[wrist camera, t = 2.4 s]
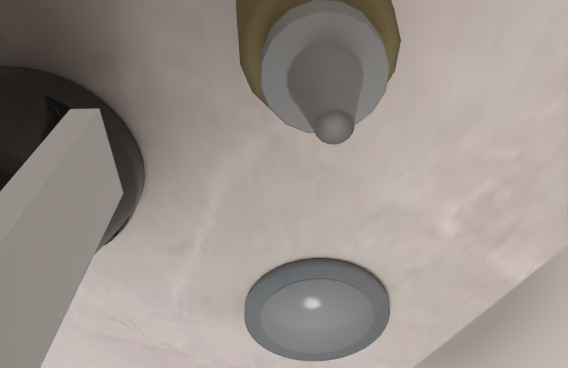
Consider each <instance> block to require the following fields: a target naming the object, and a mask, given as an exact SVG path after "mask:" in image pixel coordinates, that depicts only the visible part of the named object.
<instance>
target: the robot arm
mask: <svg viewBox="0 0 568 368" xmlns="http://www.w3.org/2000/svg"><path fill="white" fill-rule="evenodd" d="M143 185H144V167H143V162H142V158H141V154H140V151H139V149H138V146H137V144H136V142H135V140H134V138H133V137H132V135H131V133H130V132H129V130H128V129H127V127H126V126H125V125H124V123H123V122H122V121H121V120H120V118H119V117H118V116H117V115H116V114H115V113H114V112H113V111H112V110H111V109H110V108H109V107H108V106H107V105H106V104H104V103H103V102H102V101H101V100H100V99H98V98H97V97H96V96H94V95H93V94H91V93H90V92H88V91H87V90H85V89H83V88H82V87H80V86H78V85H76V84H74V83H72V82H70V81H68V80H66V79H63V78H61V77H58V76H55V75H53V74H50V73H46V72H42V71H38V70H33V69H27V68H17V67H2V68H0V368H40V367H41V365H42V362H43V360H44V358H45V356H46V354H47V352H48V350H49V348H50V346H51V344H52V342H53V339H54V337H55V335H56V333H57V331H58V329H59V327H60V325H61V323H62V321H63V319H64V316H65V314H66V312H67V310H68V308H69V306H70V304H71V302H72V300H73V298H74V296H75V293H76V291H77V289H78V287H79V285H80V283H81V281H82V279H83V277H84V275H85V273H86V270H87V268H88V266H89V264H90V262H91V260H92V258H93V256H94V254H95V253H96V252H97V251H98V250H99V249H100V248H101V247H102V246H104V245H106V244H107V243H109V242H110V241H112V240H113V239H114V238H115V237H116V236H117V235H118V234H120V233H121V231H122V230H123V229H124V228H125V227H126V225H127V224H128V223H129V221H130V219H131V218H132V216H133V214H134V211H135V209H136V207H137V204H138V202H139V199H140V197H141V194H142V190H143Z"/></svg>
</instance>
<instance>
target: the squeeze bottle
mask: <svg viewBox="0 0 568 368" xmlns="http://www.w3.org/2000/svg"><path fill="white" fill-rule="evenodd" d="M236 13H237V27H238V40H239V53H240V65H241V67H242V69H243V72H244V74H245V76H246V79H247V81H248V83H249V86H250V88H251V90H252V92H253V93H254V94H255V95H256V96H257V97H258V98H259V99H260V100H261V101H262V102H263V103H264V104H265V105H266V106H267V107H269V108H270V109H271V110H272V111H273V112H274V113H275V114H276V115H277V116H278V117H279V118H280V119H281V120H282V121H283V122H284V123H285V124H287V125H289V126H292V127H294V128H297V129H299V130H301V131H304V132H306V133H315V134H316V136H317V137H318V138H319V139H320V140H321V141H322V142H325V143H327V144H339V143H342V142H344V141H346V140H347V139H348V138H350V136H351V134H352V133H353V131H354V125H356V124H357V123H358V122H360V121H361V120H362V119H364V118H365V117H366V116H368V115H369V114H370V113H372V112H373V110H374V109H375V107H376V106H377V104H378V102H379V101H380V99H381V98H382V96H383V95H384V93H385V91H386V86H387V82H388V81H389V79H390V78H391V76H392V75H393V73H394V71H395V68H396V62H397V57H398V52H399V47H400V42H401V39H400V34H399V30H398V25H397V20H396V16H395V11H394V8H393V5H392V2H391V0H236Z"/></svg>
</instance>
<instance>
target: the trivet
mask: <svg viewBox="0 0 568 368" xmlns="http://www.w3.org/2000/svg"><path fill="white" fill-rule="evenodd" d="M389 317H390V308H389V302H388V298H387V294H386V292H385V289H384V287H383V286H382V284H381V283H380V282H379V281H378V279H377V278H376V277H374V276H373V275H372V274H371V273H370V272H368V271H366V270H365V269H363V268H361V267H359V266H357V265H354V264H351V263H348V262H344V261H340V260H334V259H306V260H300V261H295V262H291V263H288V264H285V265H282V266H280V267H278V268H276V269H274V270H272V271H270V272H268V273H267V274H265V275H264V276H263V277H262V278H260V279H259V280H258V281H257V282H256V283H255V285H254V286H253V287H252V288H251V290H250V292H249V294H248V296H247V299H246V304H245V324H246V327H247V329H248V332H249V333H250V335H251V336H252V337H253V339H254V340H255V341H256V342H257V343H258V344H260V345H261V346H262V347H264V348H265V349H267V350H268V351H271V352H273V353H275V354H277V355H280V356H282V357H286V358H290V359H295V360H302V361H326V360H333V359H337V358H342V357H345V356H348V355H351V354H354V353H356V352H358V351H360V350H362V349H364V348H366V347H367V346H369V345H370V344H372V343H373V342H374V341H375V340H376V339H377V338H378V337H379V336H380V335H381V334H382V332H383V331H384V329H385V328H386V326H387V324H388V320H389Z"/></svg>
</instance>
